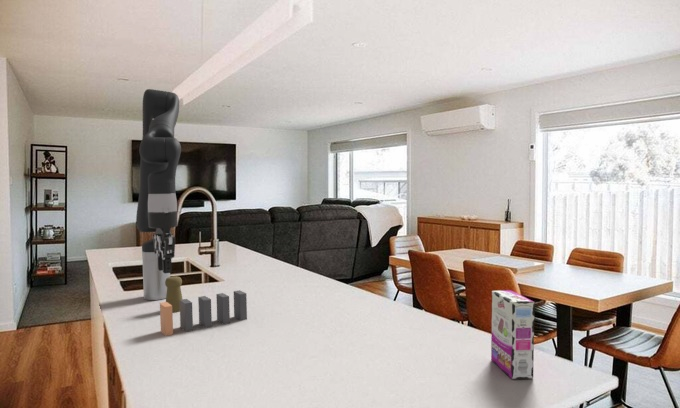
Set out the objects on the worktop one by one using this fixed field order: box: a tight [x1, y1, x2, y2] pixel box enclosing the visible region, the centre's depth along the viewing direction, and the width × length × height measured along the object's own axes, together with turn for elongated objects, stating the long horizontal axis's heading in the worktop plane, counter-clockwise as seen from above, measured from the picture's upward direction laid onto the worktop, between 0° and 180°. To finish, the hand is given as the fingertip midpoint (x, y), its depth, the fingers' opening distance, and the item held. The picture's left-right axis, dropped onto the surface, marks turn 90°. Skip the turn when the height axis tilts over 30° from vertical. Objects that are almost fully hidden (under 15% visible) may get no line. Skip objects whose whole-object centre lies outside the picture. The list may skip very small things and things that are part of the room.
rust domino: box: [159, 301, 174, 337], centre depth 130 cm, size 5×2×8 cm, turn 36°
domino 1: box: [179, 298, 194, 332], centre depth 133 cm, size 5×2×8 cm, turn 36°
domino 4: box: [233, 289, 248, 321], centre depth 143 cm, size 5×2×8 cm, turn 36°
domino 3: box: [215, 292, 231, 325], centre depth 140 cm, size 5×2×8 cm, turn 36°
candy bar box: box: [490, 289, 535, 380], centre depth 102 cm, size 11×5×16 cm, turn 5°
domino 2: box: [197, 295, 213, 329], centre depth 136 cm, size 5×2×8 cm, turn 36°
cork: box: [165, 275, 184, 314], centre depth 153 cm, size 6×6×11 cm
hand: (164, 271), depth 129 cm, fingers open, 4 cm apart
